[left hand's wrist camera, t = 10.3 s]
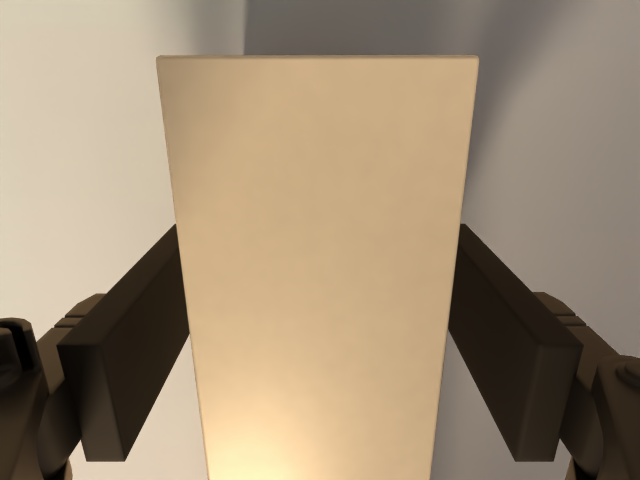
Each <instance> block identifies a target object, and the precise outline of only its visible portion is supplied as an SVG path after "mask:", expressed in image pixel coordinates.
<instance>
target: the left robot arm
mask: <svg viewBox="0 0 640 480" xmlns="http://www.w3.org/2000/svg"><path fill="white" fill-rule="evenodd" d="M54 326H55V327H54V328H51V329H50V330H49V331H48V332H47V333H46V334H45V335H44V336H43V337H41V338H40V339H39V340H38V341H37V342H36V340H35V336H34V333H33V329H32V326H31V323H30V322H28V321H26V320H25V319H20V318H2V319H0V480H72V476H73V475H72V469H71V464H70V461H69V456H70V455H71V453H72V452H73V450H74V449H75V447H76V446H77V444H78V443H79V441H80V440H81V442H82V446H83V450H84V454H85V458H86V461H87V462H125V460H126V458H127V456H128V454H129V452H130V450H131V448H132V446H133V444H134V442H135V440H136V438H137V436H138V434H139V432H140V430H141V429H142V427H143V425H144V423H145V421H146V419H147V417H148V415H149V413H150V411H151V409H152V407H153V405H154V403H155V401H156V399H157V397H158V395H159V393H160V391H161V389H162V387H163V385H164V383H165V381H166V379H167V377H168V375H169V373H170V371H171V369H172V367H173V365H174V363H175V361H176V359H177V357H178V355H179V354H180V352H181V350H182V348H183V346H184V344H185V342H186V340H187V338H188V336H189V334H190V330H189V322H188V314H187V306H186V298H185V290H184V282H183V274H182V266H181V258H180V250H179V242H178V234H177V226H176V224H174V225H173V226H172V227H171V228H170V229H169V231H168V232H167V233H166V234H165V235H164V236H163V237H162V238H161V239H160V240H159V241H158V242H157V243H156V244H155V245H154V246H153V247H152V248H151V249H150V250H149V251H148V252H147V253H146V254H145V255H144V256H143V257H142V258H141V259H140V260H139V261H138V262H137V263H136V264H135V265H134V266H133V267H132V268H131V269H130V270H129V271H128V272H127V273H126V274H125V275H124V276H123V277H122V278H121V279H120V280H119V281H118V282H117V283H116V284H115V285H114V287H113V288H112V289H111V290H110V291H109V292H108V293H107V294H95V295H93V296H91V297H89V298H87V299H85V300H83V301H82V302H80V303H78V304H77V305H76V306H75V307H73V308H72V309H71V310H70V311H69V312H68V313H67V314H66V315H65V318H62V319H61V320H60V321H59V322H57V323H56V324H55V325H54ZM448 330H449V332H450V334H451V336H452V338H453V340H454V342H455V344H456V346H457V348H458V350H459V352H460V354H461V356H462V357H463V359H464V361H465V363H466V365H467V367H468V369H469V371H470V373H471V375H472V377H473V379H474V381H475V383H476V385H477V387H478V389H479V391H480V393H481V395H482V397H483V399H484V401H485V403H486V405H487V407H488V409H489V411H490V413H491V415H492V417H493V419H494V421H495V423H496V425H497V427H498V429H499V431H500V432H501V434H502V436H503V438H504V440H505V442H506V444H507V446H508V448H509V450H510V452H511V454H512V456H513V458H514V460H515V462H553V461H554V458H555V454H556V450H557V446H558V442H559V439H561V440H562V442H563V443H564V445H565V446H566V448H567V449H568V451H569V452H570V454H571V455H572V457H571V461H570V464H569V468H568V471H567V475H566V478H565V480H640V358H636V357H633V356H624V355H619V354H618V353H617V352H616V351H615V350H614V349H613V348H612V347H610V346H609V345H608V344H607V343H606V342H605V341H604V340H603V339H602V338H601V337H600V336H599V335H598V334H596V333H595V332H594V331H593V330H592V329H591V328H590V327H589V326H586V323H585V322H584V321H582V320H581V319H580V318H579V317H578V316H575V313H574V312H573V311H572V310H571V309H570V308H569V307H567V306H566V305H565V304H564V303H563V302H562V301H560V300H558V299H556V298H554V297H552V296H550V295H548V294H546V293H545V292H531V291H530V290H529V289H528V288H527V287H526V286H525V284H524V283H523V282H522V281H521V280H520V279H519V278H518V277H517V276H516V275H515V274H514V273H513V272H512V271H511V270H510V269H509V268H508V267H507V266H506V265H505V264H504V263H503V262H502V261H501V260H500V259H499V258H498V257H497V256H496V255H495V254H494V253H493V252H492V251H491V250H490V249H489V248H488V247H487V246H486V245H485V244H484V243H483V242H482V241H481V240H480V239H479V238H478V237H477V236H476V235H475V234H474V233H473V232H472V231H471V230H470V228H469V227H468V226H467V225H466V224H460V229H459V238H458V246H457V255H456V263H455V271H454V280H453V288H452V297H451V305H450V314H449V322H448Z"/></svg>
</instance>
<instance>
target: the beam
mask: <svg viewBox="0 0 640 480" xmlns="http://www.w3.org/2000/svg"><path fill="white" fill-rule="evenodd" d="M156 66H157V74H158V82H159V90H160V98H161V106H162V114H163V122H164V130H165V138H166V146H167V154H168V162H169V170H170V178H171V186H172V194H173V202H174V210H175V218H176V226H177V234H178V242H179V250H180V258H181V266H182V274H183V282H184V290H185V298H186V306H187V314H188V322H189V330H190V338H191V346H192V354H193V362H194V370H195V378H196V386H197V394H198V402H199V410H200V418H201V426H202V434H203V442H204V451H205V459H206V467H207V475H208V480H430V474H431V466H432V457H433V449H434V440H435V432H436V424H437V415H438V407H439V398H440V390H441V381H442V373H443V364H444V356H445V347H446V339H447V331H448V322H449V314H450V305H451V297H452V288H453V280H454V271H455V263H456V255H457V246H458V238H459V229H460V221H461V212H462V204H463V195H464V187H465V178H466V170H467V162H468V153H469V145H470V136H471V128H472V119H473V111H474V102H475V94H476V85H477V77H478V69H479V57H478V56H476V55H160V56H158V57H157V58H156Z"/></svg>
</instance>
